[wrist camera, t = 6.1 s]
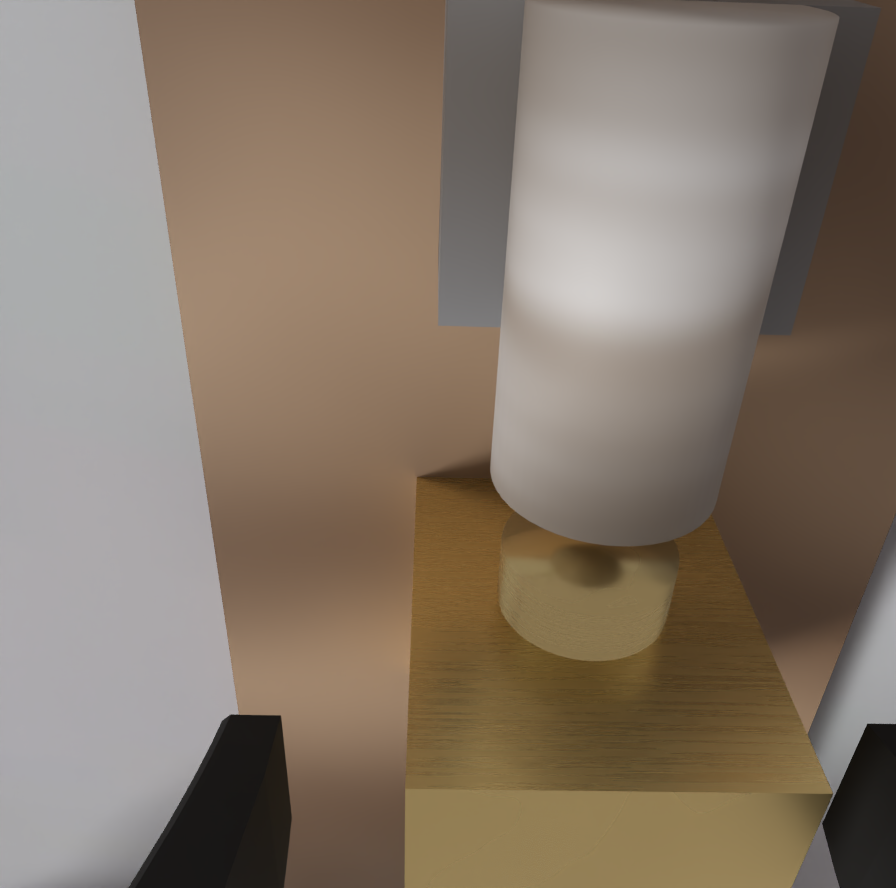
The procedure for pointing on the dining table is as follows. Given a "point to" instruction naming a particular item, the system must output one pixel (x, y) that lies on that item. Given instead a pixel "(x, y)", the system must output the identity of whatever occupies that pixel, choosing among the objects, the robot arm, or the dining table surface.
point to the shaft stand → (520, 323)
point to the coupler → (593, 712)
